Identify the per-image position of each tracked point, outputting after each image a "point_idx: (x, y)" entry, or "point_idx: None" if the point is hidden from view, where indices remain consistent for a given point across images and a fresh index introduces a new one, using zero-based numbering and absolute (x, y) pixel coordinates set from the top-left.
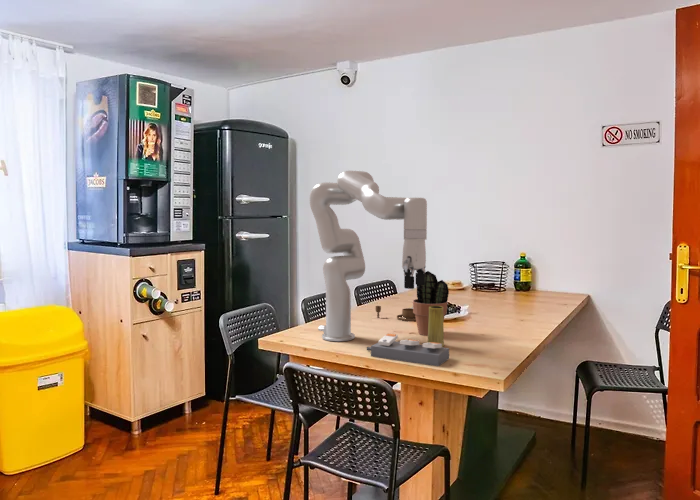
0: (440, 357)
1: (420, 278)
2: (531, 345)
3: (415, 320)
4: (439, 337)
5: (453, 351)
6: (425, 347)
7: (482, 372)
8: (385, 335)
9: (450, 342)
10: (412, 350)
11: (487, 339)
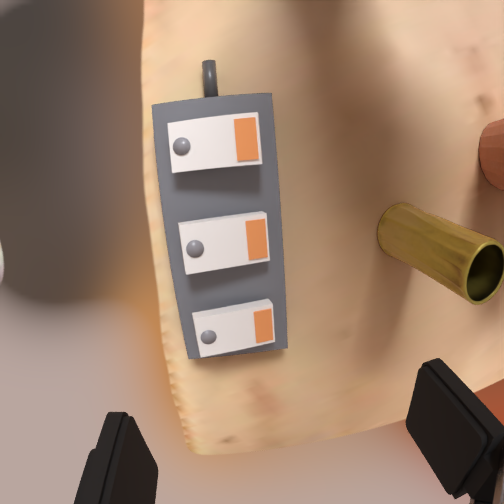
0: None
1: (438, 443)
2: None
3: None
4: (401, 260)
5: (363, 303)
6: (253, 286)
7: (214, 425)
8: (234, 117)
9: None
10: None
11: (490, 309)
